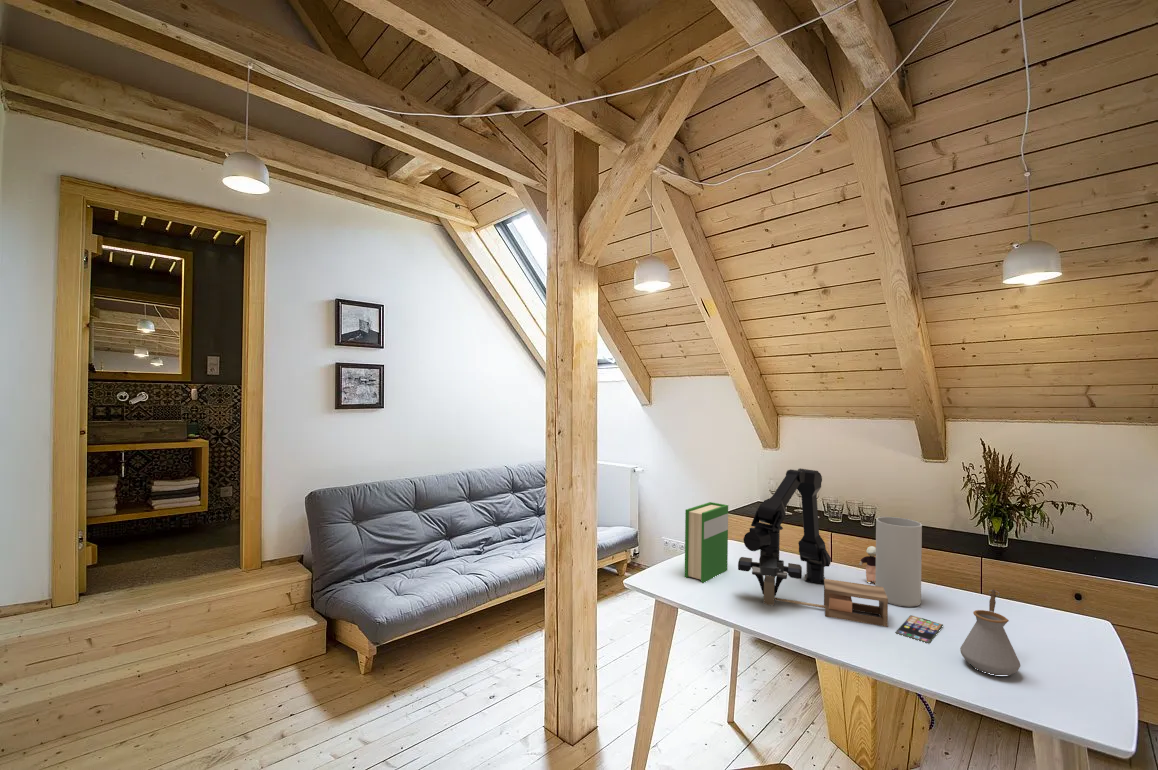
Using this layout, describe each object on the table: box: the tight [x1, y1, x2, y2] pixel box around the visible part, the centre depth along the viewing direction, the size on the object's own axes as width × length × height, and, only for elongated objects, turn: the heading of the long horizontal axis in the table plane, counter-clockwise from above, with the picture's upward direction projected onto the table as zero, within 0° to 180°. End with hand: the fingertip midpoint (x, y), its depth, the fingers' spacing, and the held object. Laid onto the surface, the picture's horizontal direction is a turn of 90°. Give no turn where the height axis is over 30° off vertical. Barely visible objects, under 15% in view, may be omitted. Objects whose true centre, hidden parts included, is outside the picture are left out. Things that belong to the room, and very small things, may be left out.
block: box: [763, 575, 853, 613], centre depth 160 cm, size 6×24×7 cm, turn 67°
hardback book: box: [684, 501, 729, 584], centre depth 188 cm, size 18×7×24 cm, turn 137°
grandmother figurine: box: [858, 545, 876, 584], centre depth 181 cm, size 8×4×13 cm, turn 65°
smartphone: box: [894, 614, 944, 644], centre depth 146 cm, size 8×15×1 cm, turn 133°
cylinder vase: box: [874, 516, 923, 608], centre depth 167 cm, size 12×12×25 cm
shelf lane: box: [823, 578, 889, 628], centre depth 155 cm, size 9×16×8 cm, turn 67°
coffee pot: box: [959, 588, 1021, 676], centre depth 130 cm, size 21×12×15 cm, turn 138°
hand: (769, 594), depth 164 cm, fingers closed on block, 3 cm apart
